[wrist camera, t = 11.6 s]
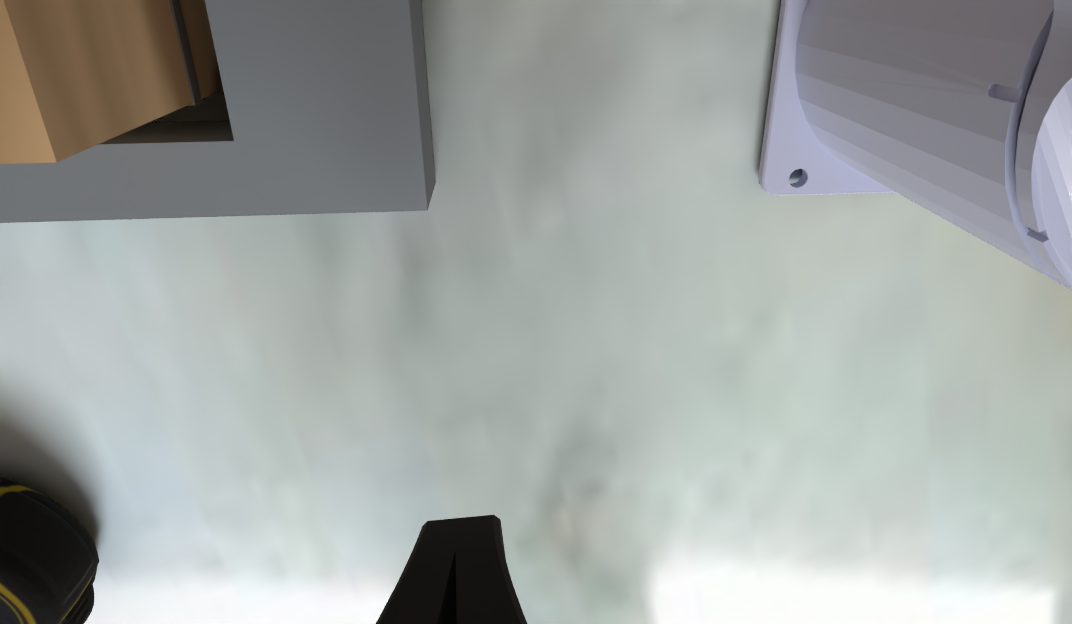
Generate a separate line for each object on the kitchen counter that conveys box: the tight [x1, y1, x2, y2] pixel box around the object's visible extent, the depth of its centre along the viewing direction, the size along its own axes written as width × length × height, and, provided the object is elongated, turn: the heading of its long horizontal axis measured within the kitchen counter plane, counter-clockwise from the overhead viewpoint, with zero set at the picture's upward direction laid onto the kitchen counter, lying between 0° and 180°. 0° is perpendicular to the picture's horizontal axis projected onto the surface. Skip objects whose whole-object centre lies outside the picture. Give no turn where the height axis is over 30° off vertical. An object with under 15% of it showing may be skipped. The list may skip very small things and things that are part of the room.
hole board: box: [0, 0, 436, 223], centre depth 16 cm, size 14×9×2 cm, turn 91°
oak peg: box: [0, 0, 223, 164], centre depth 13 cm, size 4×4×8 cm
